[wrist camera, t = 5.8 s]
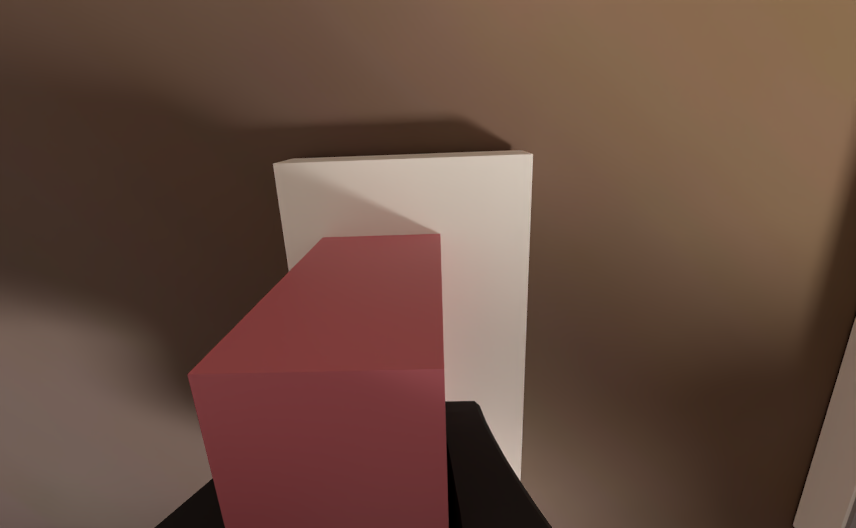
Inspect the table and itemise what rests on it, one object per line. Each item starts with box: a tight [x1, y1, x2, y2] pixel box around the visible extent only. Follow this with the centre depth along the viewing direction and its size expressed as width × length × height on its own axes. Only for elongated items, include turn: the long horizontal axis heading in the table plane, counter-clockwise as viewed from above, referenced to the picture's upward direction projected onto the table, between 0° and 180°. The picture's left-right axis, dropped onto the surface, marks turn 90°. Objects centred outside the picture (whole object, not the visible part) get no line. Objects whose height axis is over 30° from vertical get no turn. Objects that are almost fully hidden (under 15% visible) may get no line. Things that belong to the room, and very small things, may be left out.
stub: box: [187, 150, 533, 528], centre depth 8 cm, size 11×5×6 cm, turn 2°
